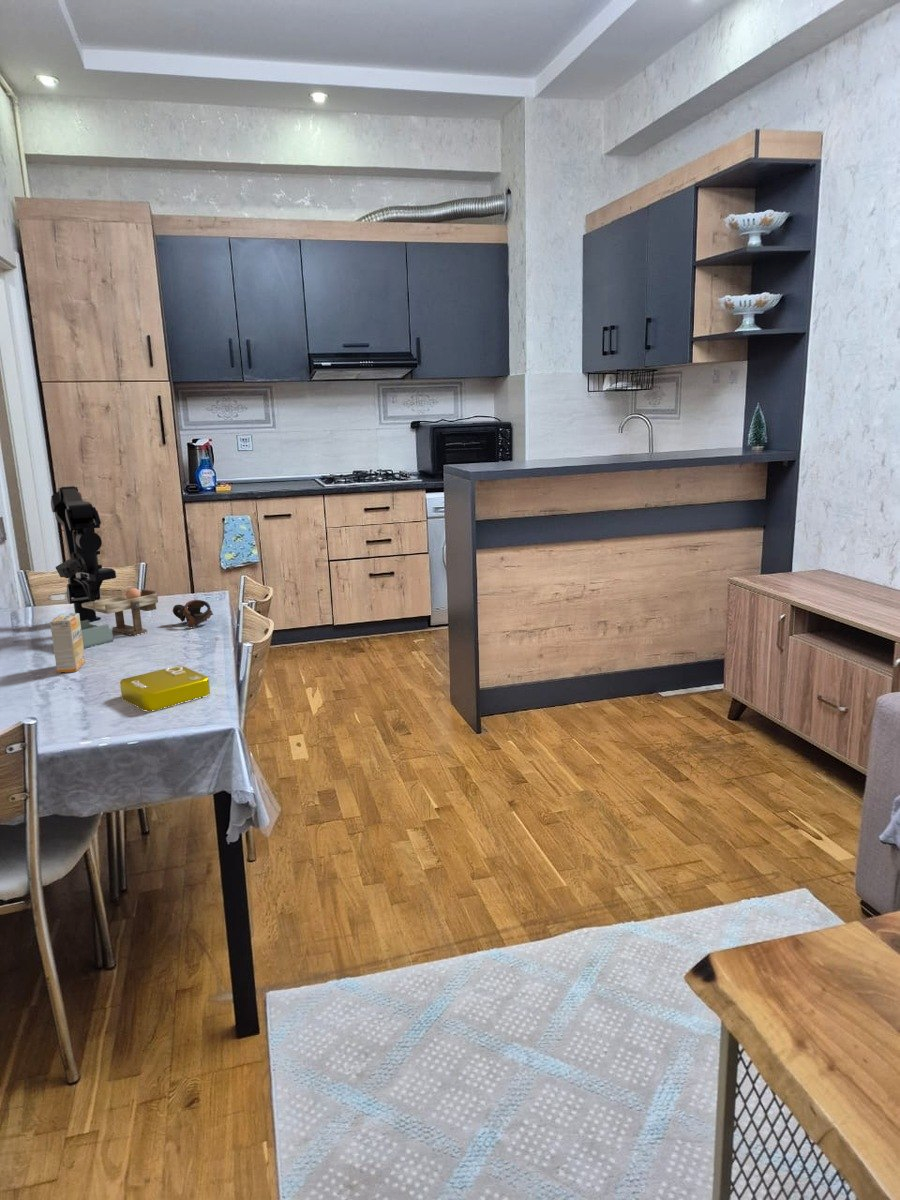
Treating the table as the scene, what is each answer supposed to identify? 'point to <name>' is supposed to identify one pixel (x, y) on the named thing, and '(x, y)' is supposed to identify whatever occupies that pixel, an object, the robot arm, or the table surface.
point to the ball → (132, 593)
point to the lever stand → (136, 621)
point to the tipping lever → (124, 603)
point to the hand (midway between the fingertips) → (92, 601)
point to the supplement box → (67, 642)
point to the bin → (95, 634)
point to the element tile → (164, 687)
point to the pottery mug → (192, 612)
